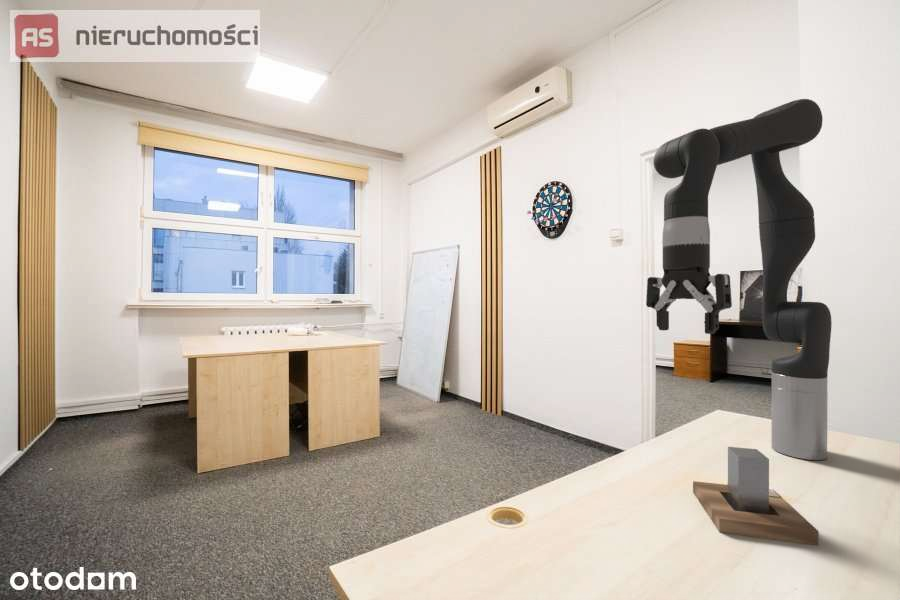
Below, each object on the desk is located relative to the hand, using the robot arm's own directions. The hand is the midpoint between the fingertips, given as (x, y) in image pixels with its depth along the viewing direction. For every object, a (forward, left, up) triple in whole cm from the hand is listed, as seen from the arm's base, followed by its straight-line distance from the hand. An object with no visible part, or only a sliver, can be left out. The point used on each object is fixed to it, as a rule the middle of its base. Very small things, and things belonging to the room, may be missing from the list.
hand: (685, 331), depth 73 cm
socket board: (+10, +6, -28) cm, 30 cm away
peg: (+10, +6, -28) cm, 30 cm away
